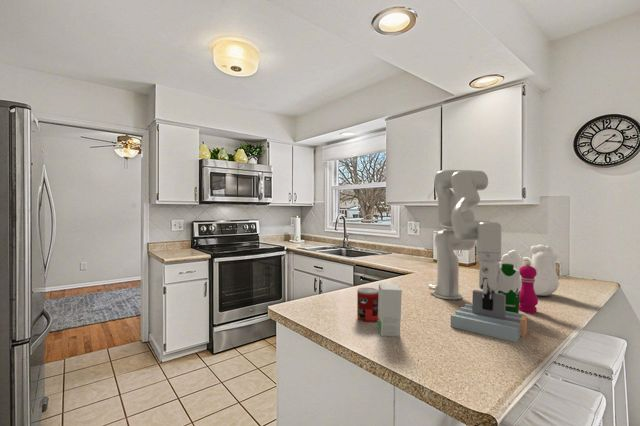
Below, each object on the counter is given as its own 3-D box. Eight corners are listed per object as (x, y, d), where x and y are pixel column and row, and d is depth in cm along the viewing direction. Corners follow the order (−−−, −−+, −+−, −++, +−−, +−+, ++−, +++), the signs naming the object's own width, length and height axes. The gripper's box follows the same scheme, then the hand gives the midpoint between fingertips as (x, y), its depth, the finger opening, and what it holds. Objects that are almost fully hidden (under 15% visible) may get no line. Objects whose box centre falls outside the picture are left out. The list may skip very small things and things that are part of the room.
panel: (505, 320, 108) (505, 294, 108) (503, 322, 106) (504, 296, 106) (474, 314, 115) (474, 289, 114) (472, 315, 113) (472, 291, 113)
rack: (450, 326, 110) (450, 310, 110) (465, 313, 124) (466, 299, 124) (521, 343, 96) (521, 325, 96) (529, 326, 110) (529, 311, 110)
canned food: (355, 315, 121) (355, 287, 121) (375, 315, 121) (375, 287, 121) (359, 323, 113) (359, 292, 113) (381, 322, 114) (381, 292, 114)
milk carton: (495, 315, 122) (496, 264, 121) (491, 308, 130) (491, 261, 130) (521, 318, 119) (522, 266, 119) (515, 311, 127) (515, 262, 127)
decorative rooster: (563, 295, 151) (564, 244, 151) (550, 301, 142) (551, 246, 142) (508, 285, 171) (508, 240, 171) (494, 289, 162) (494, 241, 162)
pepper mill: (541, 314, 124) (542, 263, 124) (521, 312, 125) (521, 263, 125) (532, 308, 131) (533, 261, 131) (514, 307, 132) (514, 260, 132)
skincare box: (377, 327, 109) (377, 282, 109) (396, 327, 109) (396, 283, 109) (381, 336, 101) (381, 288, 101) (401, 337, 101) (402, 289, 100)
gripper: (495, 260, 102) (495, 316, 102) (505, 255, 114) (505, 305, 114) (471, 258, 107) (470, 311, 107) (483, 253, 119) (482, 301, 119)
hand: (488, 308), depth 110 cm, fingers closed on panel, 2 cm apart
